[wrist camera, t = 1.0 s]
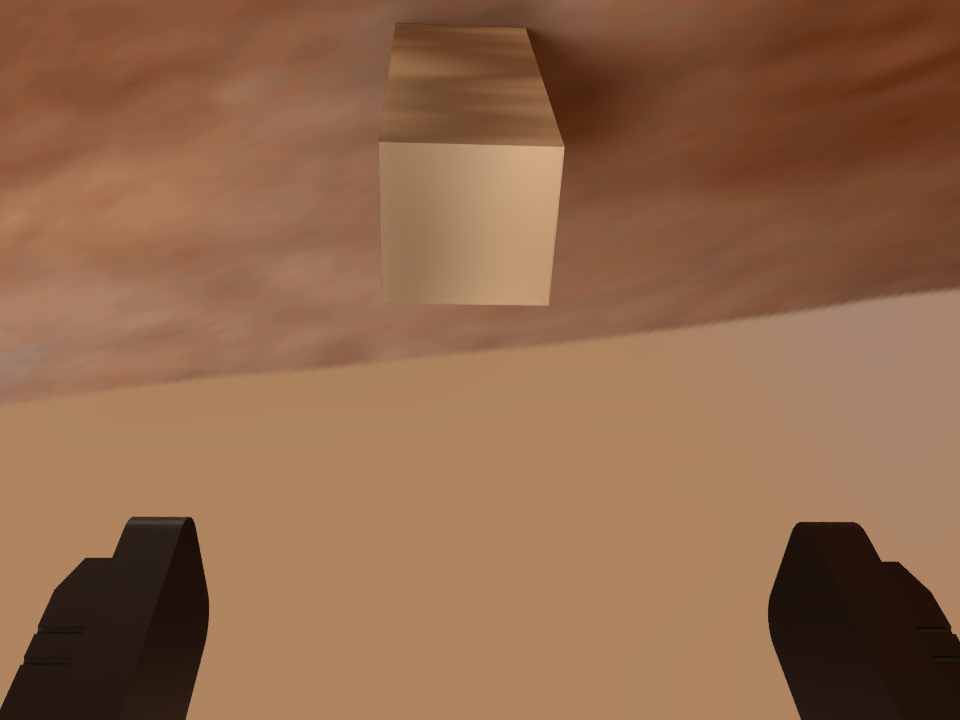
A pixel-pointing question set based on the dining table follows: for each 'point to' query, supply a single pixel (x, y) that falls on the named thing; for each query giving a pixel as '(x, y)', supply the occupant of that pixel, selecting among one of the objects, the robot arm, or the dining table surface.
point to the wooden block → (467, 169)
